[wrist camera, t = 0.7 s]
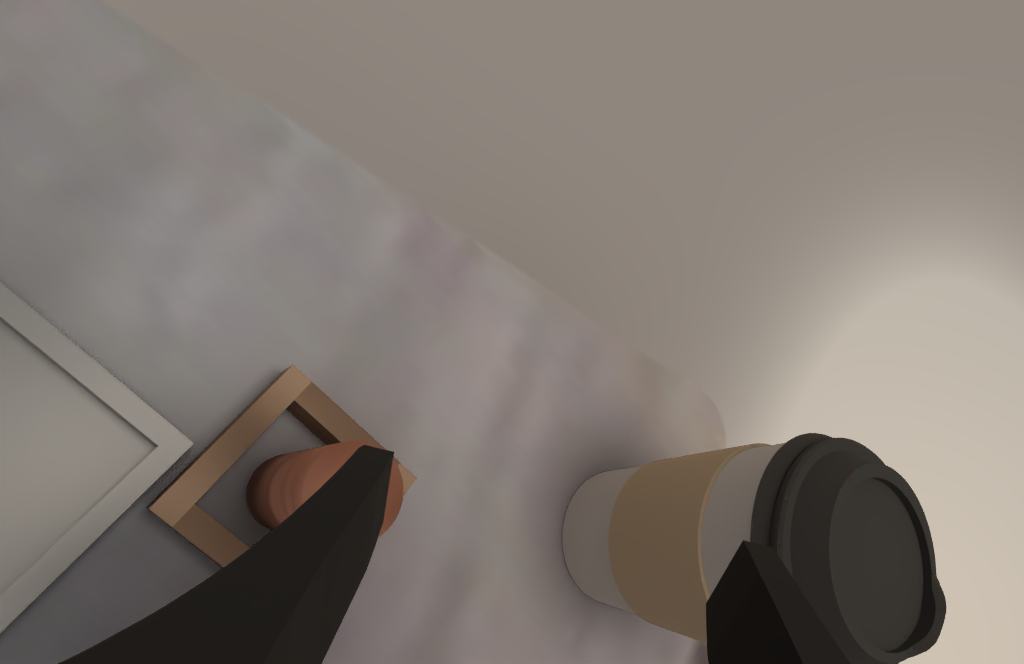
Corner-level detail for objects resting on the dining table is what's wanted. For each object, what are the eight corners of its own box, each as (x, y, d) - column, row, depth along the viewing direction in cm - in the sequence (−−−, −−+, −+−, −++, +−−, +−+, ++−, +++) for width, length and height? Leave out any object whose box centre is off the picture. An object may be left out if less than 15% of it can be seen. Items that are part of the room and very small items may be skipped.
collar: (289, 620, 25) (302, 629, 23) (146, 507, 23) (148, 509, 22) (399, 478, 29) (416, 478, 27) (281, 372, 27) (293, 364, 25)
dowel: (286, 545, 26) (358, 567, 18) (229, 498, 25) (280, 501, 17) (336, 486, 27) (422, 484, 20) (283, 439, 26) (351, 419, 19)
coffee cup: (512, 534, 31) (779, 563, 19) (611, 417, 36) (875, 377, 23) (614, 665, 33) (924, 773, 20) (696, 535, 37) (987, 557, 25)
